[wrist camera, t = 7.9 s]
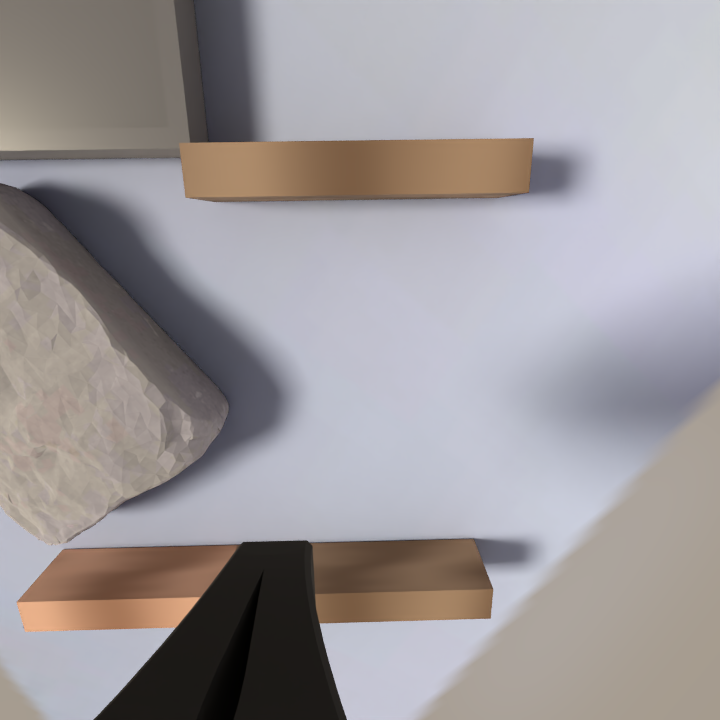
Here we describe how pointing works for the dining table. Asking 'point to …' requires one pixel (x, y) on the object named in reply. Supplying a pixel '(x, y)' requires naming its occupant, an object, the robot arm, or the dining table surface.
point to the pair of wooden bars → (331, 560)
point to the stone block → (85, 384)
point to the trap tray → (99, 79)
